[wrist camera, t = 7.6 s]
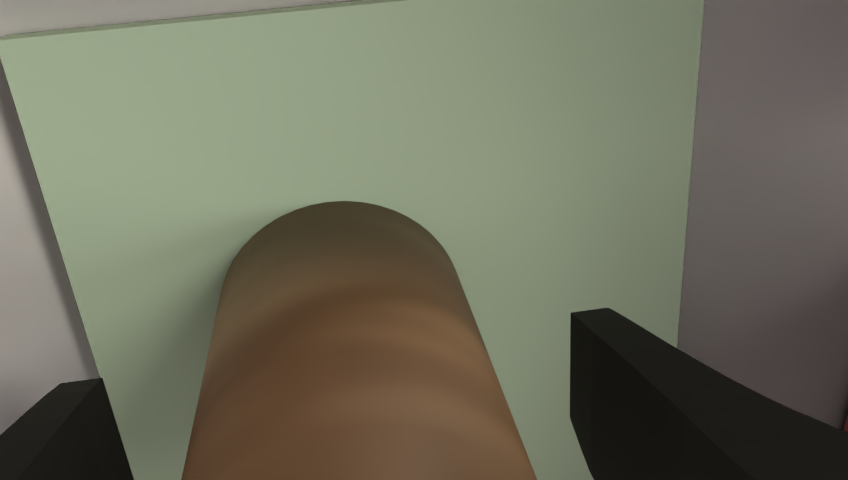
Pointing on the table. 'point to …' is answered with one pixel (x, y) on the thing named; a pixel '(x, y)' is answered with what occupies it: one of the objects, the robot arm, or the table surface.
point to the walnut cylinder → (349, 360)
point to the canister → (846, 425)
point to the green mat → (367, 175)
